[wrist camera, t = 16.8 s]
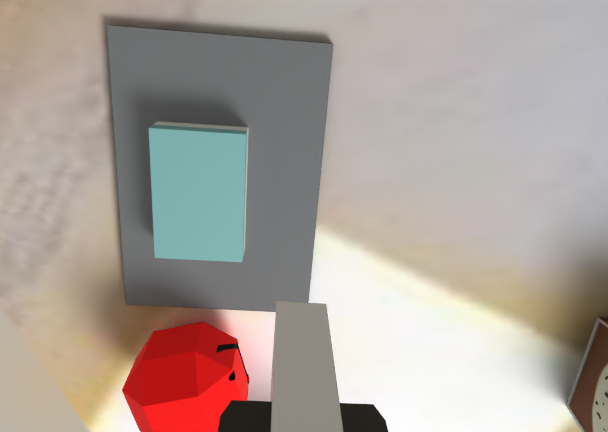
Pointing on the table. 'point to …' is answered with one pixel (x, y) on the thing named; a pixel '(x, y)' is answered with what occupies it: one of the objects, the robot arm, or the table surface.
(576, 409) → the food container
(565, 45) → the table surface
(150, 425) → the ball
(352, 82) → the table surface
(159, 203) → the tile
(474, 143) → the table surface
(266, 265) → the mat
